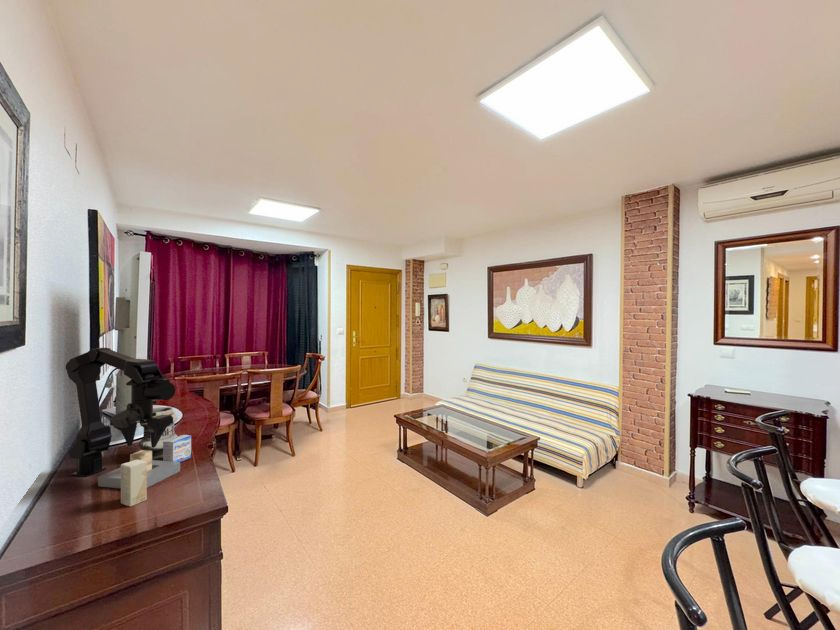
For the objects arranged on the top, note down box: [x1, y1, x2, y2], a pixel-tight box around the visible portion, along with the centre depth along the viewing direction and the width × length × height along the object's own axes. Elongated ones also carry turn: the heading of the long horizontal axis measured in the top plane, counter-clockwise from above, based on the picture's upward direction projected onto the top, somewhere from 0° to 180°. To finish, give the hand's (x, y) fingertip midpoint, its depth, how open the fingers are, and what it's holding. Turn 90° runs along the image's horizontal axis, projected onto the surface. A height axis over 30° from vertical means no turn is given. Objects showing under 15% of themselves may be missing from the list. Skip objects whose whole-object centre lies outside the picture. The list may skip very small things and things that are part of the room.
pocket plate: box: [97, 460, 181, 489], centre depth 115 cm, size 16×14×3 cm
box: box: [120, 460, 148, 507], centre depth 100 cm, size 5×4×11 cm
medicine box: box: [162, 434, 192, 463], centre depth 129 cm, size 8×4×9 cm, turn 168°
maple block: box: [129, 449, 152, 471], centre depth 115 cm, size 4×4×8 cm
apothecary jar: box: [138, 406, 179, 461], centre depth 134 cm, size 12×12×18 cm
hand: (141, 446), depth 115 cm, fingers open, 9 cm apart
